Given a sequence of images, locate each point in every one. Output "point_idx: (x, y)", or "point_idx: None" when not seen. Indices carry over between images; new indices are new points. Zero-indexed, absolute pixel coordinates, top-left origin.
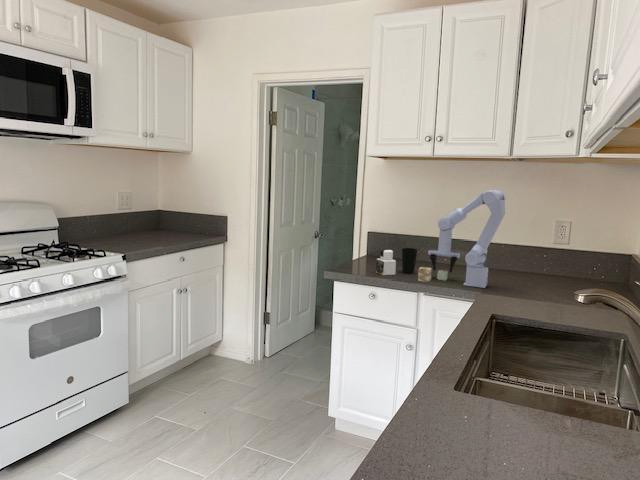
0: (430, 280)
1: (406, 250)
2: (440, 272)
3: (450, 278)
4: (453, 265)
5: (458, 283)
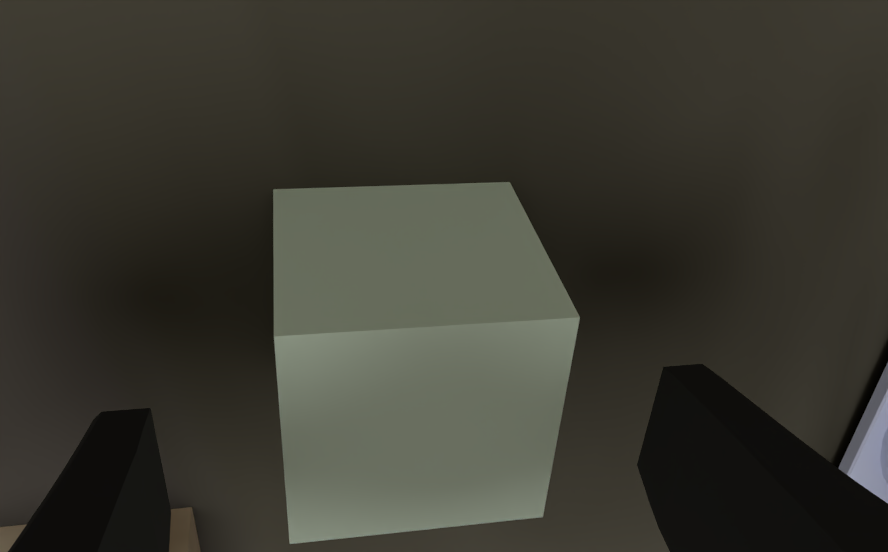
0: (198, 544)
1: None
2: (376, 516)
3: (592, 61)
4: (872, 524)
5: None
